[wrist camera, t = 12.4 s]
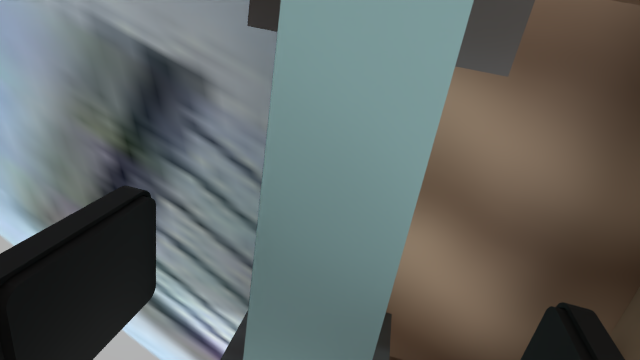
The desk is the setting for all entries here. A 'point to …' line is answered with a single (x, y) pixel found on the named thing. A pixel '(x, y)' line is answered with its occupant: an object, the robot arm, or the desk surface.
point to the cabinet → (522, 185)
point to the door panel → (344, 168)
